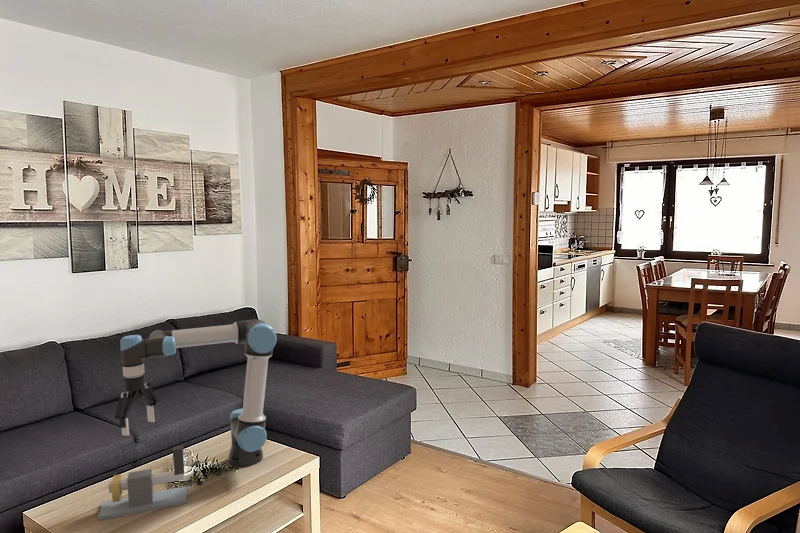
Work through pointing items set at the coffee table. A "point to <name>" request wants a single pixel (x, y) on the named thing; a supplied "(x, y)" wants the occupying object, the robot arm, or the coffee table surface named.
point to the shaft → (165, 476)
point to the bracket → (142, 497)
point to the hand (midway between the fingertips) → (138, 428)
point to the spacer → (116, 488)
